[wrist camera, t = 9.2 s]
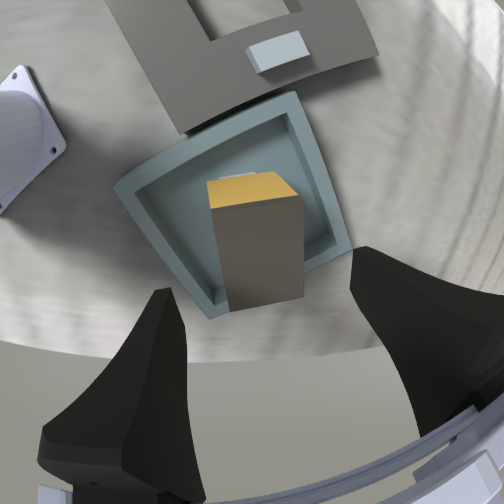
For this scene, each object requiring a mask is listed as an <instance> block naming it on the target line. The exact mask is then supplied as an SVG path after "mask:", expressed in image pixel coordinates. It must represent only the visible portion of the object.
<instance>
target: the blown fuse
mask: <svg viewBox="0 0 504 504" xmlns="http://www.w3.org/2000/svg"><path fill="white" fill-rule="evenodd" d="M206 182H207V188H208V195H209V202H210V208H211V215H212V220H213V226H214V232H215V238H216V243H217V249H218V254H219V259H220V265H221V270H222V275H223V281H224V286H225V291H226V296H227V301H228V306H229V311H230V312H232V311H238V310H243V309H248V308H253V307H258V306H263V305H268V304H273V303H277V302H282V301H287V300H291V299H296V298H300V297H304V215H303V199H302V198H301V197H300V196H299V195H298V194H297V193H296V192H295V191H294V190H293V189H292V188H291V187H290V186H289V185H288V184H287V183H286V182H285V181H284V180H283V179H282V178H281V177H280V176H279V175H278V174H276V173H275V172H274V171H272V172H264V173H257V174H256V173H255V172H251V173H244V174H238V175H231V176H225V177H219V179H218V180H212V181H206Z"/></svg>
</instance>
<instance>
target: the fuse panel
mask: <svg viewBox="0 0 504 504" xmlns="http://www.w3.org/2000/svg"><path fill="white" fill-rule="evenodd" d="M105 2H106V4H107V6H108V8H109V9H110V11H111V13H112V15H113V17H114V18H115V20H116V22H117V24H118V26H119V27H120V29H121V31H122V33H123V35H124V36H125V38H126V40H127V42H128V44H129V45H130V47H131V49H132V51H133V52H134V54H135V56H136V58H137V60H138V61H139V63H140V65H141V67H142V69H143V70H144V72H145V74H146V76H147V77H148V79H149V81H150V83H151V85H152V86H153V88H154V90H155V92H156V93H157V95H158V97H159V99H160V101H161V102H162V104H163V106H164V108H165V109H166V111H167V113H168V115H169V117H170V118H171V120H172V122H173V124H174V125H175V127H176V129H177V131H178V133H179V134H180V135H181V134H183V133H184V132H186V131H188V130H190V129H192V128H194V127H196V126H197V125H199V124H201V123H203V122H205V121H207V120H209V119H211V118H213V117H215V116H217V115H219V114H221V113H223V112H225V111H227V110H229V109H231V108H233V107H235V106H238V105H240V104H242V103H244V102H246V101H249V100H251V99H253V98H255V97H258V96H260V95H262V94H265V93H267V92H269V91H272V90H274V89H277V88H279V87H282V86H284V85H287V84H289V83H292V82H295V81H297V80H300V79H303V78H306V77H308V76H311V75H314V74H317V73H320V72H323V71H326V70H329V69H332V68H335V67H339V66H342V65H345V64H349V63H352V62H356V61H359V60H363V59H367V58H371V57H375V56H379V53H378V50H377V48H376V45H375V43H374V40H373V38H372V35H371V33H370V31H369V29H368V26H367V24H366V22H365V20H364V18H363V15H362V13H361V11H360V9H359V7H358V5H357V3H356V1H355V0H284V2H285V4H286V6H287V8H288V9H289V11H290V13H291V14H288V15H284V16H281V17H277V18H274V19H271V20H267V21H264V22H261V23H258V24H255V25H252V26H249V27H246V28H244V29H241V30H238V31H236V32H233V33H230V34H228V35H225V36H223V37H220V38H218V39H216V40H213V41H211V42H210V40H209V38H208V36H207V35H206V33H205V31H204V29H203V28H202V26H201V24H200V22H199V21H198V19H197V17H196V16H195V14H194V12H193V10H192V9H191V7H190V5H189V4H188V2H187V0H105Z"/></svg>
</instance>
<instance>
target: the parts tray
mask: <svg viewBox="0 0 504 504" xmlns="http://www.w3.org/2000/svg"><path fill="white" fill-rule="evenodd" d="M272 171H274V172H275V173H276V174H278V175H279V176H280V177H281V178H282V179H283V180H284V181H285V182H286V183H287V184H288V185H289V186H290V187H291V188H292V189H293V190H294V191H295V192H296V193H297V194H298V195H299V196H300V197H301V198H302V199H303V215H304V274H305V273H307V272H309V271H311V270H313V269H315V268H317V267H318V266H320V265H322V264H324V263H326V262H328V261H330V260H332V259H334V258H336V257H338V256H339V255H341V254H343V253H345V252H347V251H349V250H351V249H352V247H351V244H350V240H349V237H348V233H347V230H346V227H345V223H344V220H343V217H342V214H341V210H340V207H339V204H338V201H337V198H336V195H335V192H334V189H333V186H332V183H331V180H330V177H329V175H328V172H327V169H326V166H325V163H324V161H323V158H322V155H321V153H320V150H319V147H318V145H317V142H316V140H315V137H314V134H313V132H312V129H311V127H310V124H309V122H308V120H307V117H306V115H305V112H304V110H303V108H302V105H301V103H300V101H299V98H298V96H297V94H296V92H295V91H284V92H280V93H278V94H276V95H273V96H271V97H268V98H266V99H264V100H261V101H259V102H257V103H255V104H252V105H250V106H248V107H246V108H243V109H241V110H239V111H237V112H235V113H233V114H231V115H229V116H227V117H225V118H223V119H221V120H219V121H217V122H215V123H213V124H211V125H209V126H207V127H205V128H203V129H201V130H199V131H197V132H195V133H194V134H192V135H190V136H188V137H186V138H184V139H183V140H181V141H179V142H177V143H176V144H174V145H172V146H170V147H169V148H167V149H165V150H164V151H162V152H160V153H159V154H157V155H155V156H154V157H152V158H150V159H149V160H147V161H145V162H144V163H142V164H141V165H139V166H138V167H136V168H134V169H133V170H131V171H130V172H128V173H127V174H125V175H124V176H122V177H121V178H120V179H119V180H118V182H117V183H116V184H115V185H114V186H113V187H112V189H113V191H114V192H115V194H116V195H117V197H118V198H119V200H120V201H121V203H122V204H123V206H124V207H125V208H126V210H127V211H128V213H129V214H130V216H131V217H132V219H133V220H134V222H135V223H136V224H137V226H138V227H139V229H140V230H141V231H142V233H143V234H144V236H145V237H146V238H147V240H148V241H149V243H150V244H151V245H152V247H153V248H154V249H155V251H156V252H157V253H158V255H159V256H160V258H161V259H162V260H163V262H164V263H165V264H166V266H167V267H168V268H169V269H170V271H171V272H172V273H173V275H174V276H175V277H176V279H177V280H178V281H179V282H180V284H181V285H182V286H183V288H184V289H185V290H186V291H187V293H188V294H189V295H190V296H191V298H192V299H193V300H194V301H195V303H196V304H197V305H198V306H199V308H200V309H201V310H202V311H203V312H204V314H205V315H206V316H207V317H208V319H209V320H210V319H212V318H215V317H217V316H219V315H221V314H223V313H225V312H227V311H229V306H228V301H227V296H226V291H225V286H224V281H223V275H222V270H221V265H220V259H219V254H218V249H217V243H216V238H215V232H214V226H213V220H212V215H211V208H210V202H209V195H208V188H207V182H206V181H212V180H218V179H219V177H225V176H231V175H238V174H244V173H251V172H255V173H256V174H257V173H264V172H272Z"/></svg>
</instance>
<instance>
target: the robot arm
mask: <svg viewBox="0 0 504 504" xmlns="http://www.w3.org/2000/svg"><path fill="white" fill-rule="evenodd" d="M16 73H17V78H16V79H15V75H16ZM54 147H55V148H56V150H57V151H56V153H54V152H53V148H54ZM65 149H66V141H65V139H64V138H63V136H62V134H61V133H60V131H59V129H58V127H57V125H56V124H55V122H54V120H53V118H52V116H51V115H50V113H49V111H48V109H47V107H46V105H45V103H44V101H43V99H42V97H41V95H40V94H39V92H38V90H37V88H36V85H35V83H34V81H33V79H32V77H31V75H30V73H29V71H28V69H27V67H26V65H19V66H18V67H17V68H16V69H15V70H14V71H13V72H12V73H11V74H10V75H9V76H8V77H7V78H6V79H5V80H4V81H3V83H2V84H1V85H0V203H1V205H2V207H1V206H0V214H1V213H2V212H3V211H4V210H5V209H6V207H7V206H8V205H9V204H10V203H11V202H12V201H13V200H14V199H15V197H16V196H17V195H18V194H19V193H20V192H21V191H22V190H23V189H24V188H25V187H26V186H27V185H28V184H29V183H30V182H31V181H32V180H33V179H34V178H35V177H36V176H37V175H38V174H39V173H40V172H41V171H42V170H43V169H45V168H46V167H47V166H48V165H49V164H50V163H51V162H52V161H53V160H54V159H56V158H57V157H58V156H59V155H60V154H61V153H62V152H64V151H65ZM350 291H351V293H352V295H353V297H354V299H355V301H356V303H357V305H358V307H359V309H360V310H361V312H362V313H363V315H364V316H365V318H366V319H367V321H368V322H369V324H370V325H371V327H372V328H373V329H374V331H375V332H376V334H377V335H378V337H379V338H380V340H381V341H382V343H383V344H384V346H385V347H386V349H387V351H388V352H389V354H390V355H391V358H392V360H393V362H394V364H395V366H396V368H397V370H398V372H399V375H400V377H401V379H402V382H403V384H404V387H405V389H406V391H407V394H408V397H409V400H410V403H411V405H412V408H413V412H414V415H415V418H416V421H417V426H418V429H419V434H420V437H421V438H420V439H418V440H416V441H414V442H413V443H411V444H409V445H407V446H405V447H403V448H401V449H399V450H397V451H395V452H393V453H391V454H389V455H387V456H384V457H382V458H380V459H378V460H376V461H373V462H371V463H369V464H366V465H364V466H362V467H359V468H357V469H354V470H351V471H349V472H346V473H343V474H340V475H338V476H335V477H332V478H329V479H326V480H323V481H319V482H316V483H313V484H310V485H306V486H302V487H299V488H295V489H291V490H287V491H283V492H278V493H274V494H269V495H264V496H259V497H253V498H247V499H241V500H234V501H226V502H217V503H206V504H319V503H322V502H325V501H328V500H331V499H334V498H337V497H340V496H343V495H345V494H348V493H351V492H354V491H356V490H359V489H361V488H364V487H366V486H368V485H371V484H373V483H375V482H378V481H380V480H382V479H384V478H386V477H388V476H390V475H393V474H395V473H396V472H399V471H400V470H402V469H404V468H406V467H408V466H410V465H412V464H414V463H415V462H417V461H419V460H421V459H423V458H424V457H426V456H428V455H429V454H431V453H433V452H434V451H436V450H438V449H439V448H441V447H442V446H444V445H445V444H447V443H448V442H450V443H449V446H448V447H447V448H445V449H444V450H442V451H441V452H439V453H438V454H437V455H435V456H434V457H433V458H432V459H431V460H429V461H428V462H427V463H426V464H424V465H423V466H421V467H420V468H418V469H417V470H415V471H414V472H413V476H414V478H415V481H416V484H414V485H412V486H411V487H409V488H407V489H405V490H403V491H401V492H400V493H397V494H395V495H393V496H391V497H389V498H387V499H385V500H383V501H381V502H379V503H376V504H504V503H503V500H502V498H501V496H500V494H499V490H500V489H501V487H502V484H503V481H504V479H503V477H502V475H501V473H500V471H499V470H500V469H501V468H502V467H503V466H504V295H497V294H491V293H485V292H481V291H476V290H472V289H469V288H465V287H461V286H458V285H455V284H452V283H449V282H446V281H444V280H441V279H438V278H436V277H433V276H431V275H429V274H426V273H424V272H422V271H419V270H417V269H415V268H413V267H411V266H409V265H407V264H404V263H402V262H400V261H398V260H396V259H394V258H392V257H390V256H388V255H386V254H384V253H382V252H380V251H377V250H375V249H373V248H370V247H368V246H364V247H360V248H355V249H353V259H352V270H351V280H350ZM37 461H38V464H39V465H40V466H41V467H42V468H43V469H44V470H46V471H47V472H49V473H51V474H52V475H54V476H56V477H58V478H59V479H61V480H63V481H65V482H67V483H69V484H72V485H73V493H72V492H69V491H66V490H62V489H58V488H54V487H50V486H46V485H42V484H40V485H39V494H38V504H203V502H204V501H205V500H206V496H205V492H204V489H203V485H202V481H201V477H200V473H199V469H198V465H197V460H196V456H195V451H194V445H193V440H192V434H191V428H190V421H189V414H188V404H187V342H186V333H185V325H184V323H183V320H182V318H181V315H180V312H179V310H178V307H177V304H176V301H175V299H174V296H173V293H172V290H171V287H169V288H164V289H159V290H155V291H154V293H153V294H152V296H151V298H150V300H149V301H148V303H147V305H146V307H145V309H144V310H143V312H142V314H141V316H140V317H139V319H138V321H137V322H136V324H135V326H134V327H133V329H132V331H131V332H130V334H129V336H128V337H127V339H126V340H125V342H124V343H123V345H122V346H121V348H120V349H119V351H118V352H117V354H116V355H115V356H114V358H113V359H112V360H111V362H110V363H109V364H108V366H107V367H106V368H105V369H104V370H103V372H102V373H101V374H100V375H99V376H98V377H97V378H96V379H95V380H94V382H93V383H92V384H91V385H90V386H89V387H88V388H87V389H86V390H85V391H84V392H83V393H82V394H81V395H80V396H79V397H78V398H77V399H76V400H75V401H74V402H73V403H72V404H71V405H69V406H68V407H67V408H66V409H65V410H64V411H63V412H61V413H60V414H59V415H57V416H56V417H55V418H53V419H52V420H51V421H50V422H48V423H47V424H46V425H44V426H43V429H42V434H41V440H40V445H39V451H38V458H37Z"/></svg>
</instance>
